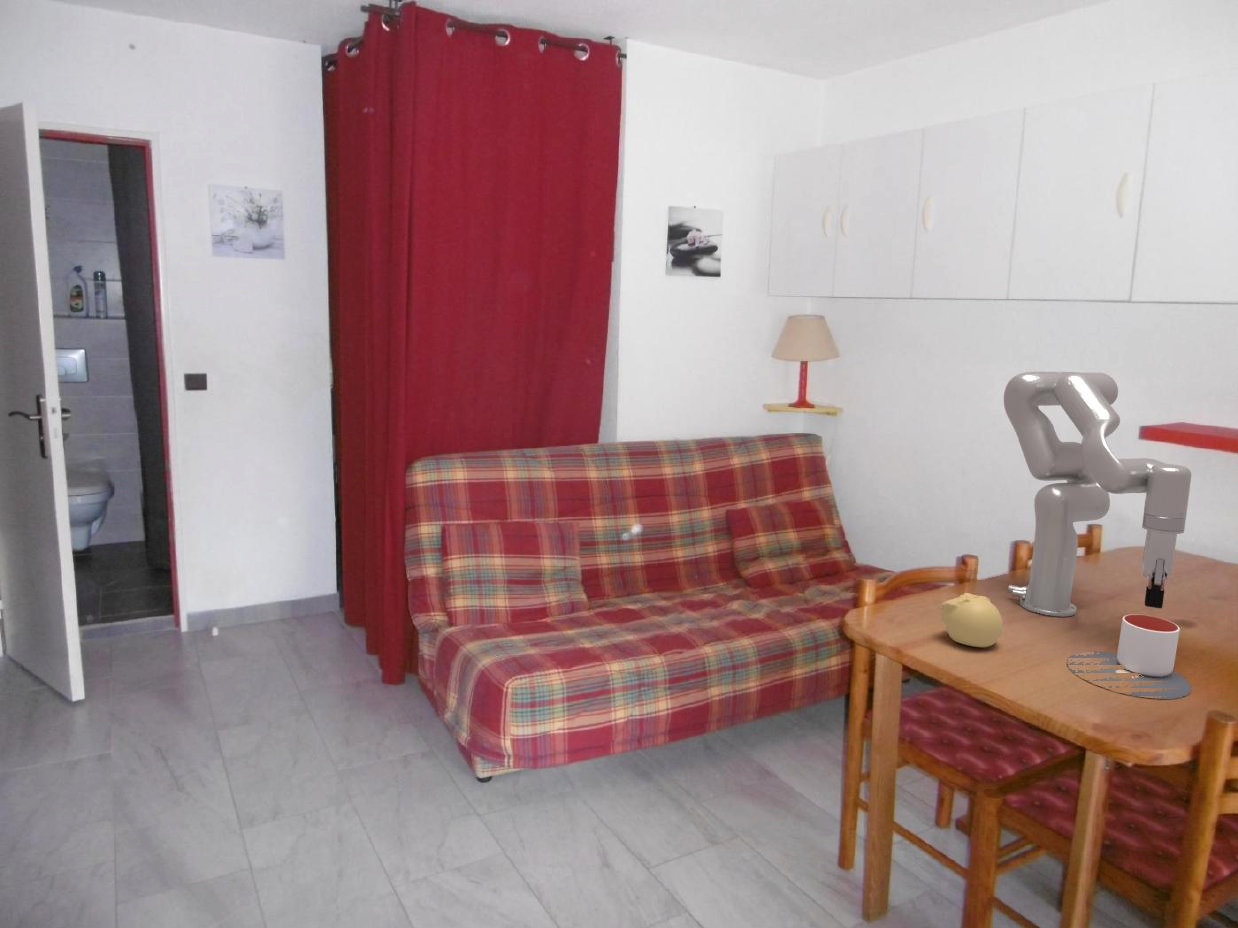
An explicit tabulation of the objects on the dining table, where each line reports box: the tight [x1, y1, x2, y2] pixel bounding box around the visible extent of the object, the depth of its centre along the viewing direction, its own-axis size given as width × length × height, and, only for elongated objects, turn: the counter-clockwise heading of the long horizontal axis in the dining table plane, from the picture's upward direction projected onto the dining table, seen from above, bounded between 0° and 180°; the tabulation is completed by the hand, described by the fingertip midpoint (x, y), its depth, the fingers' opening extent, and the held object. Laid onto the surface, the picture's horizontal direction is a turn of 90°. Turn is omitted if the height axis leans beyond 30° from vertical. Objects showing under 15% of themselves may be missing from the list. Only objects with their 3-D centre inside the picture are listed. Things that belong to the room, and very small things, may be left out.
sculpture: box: [940, 592, 1004, 648], centre depth 186 cm, size 12×12×11 cm
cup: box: [1117, 613, 1181, 677], centre depth 174 cm, size 10×10×10 cm
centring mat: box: [1066, 651, 1192, 700], centre depth 172 cm, size 22×22×1 cm
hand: (1153, 606), depth 181 cm, fingers closed
